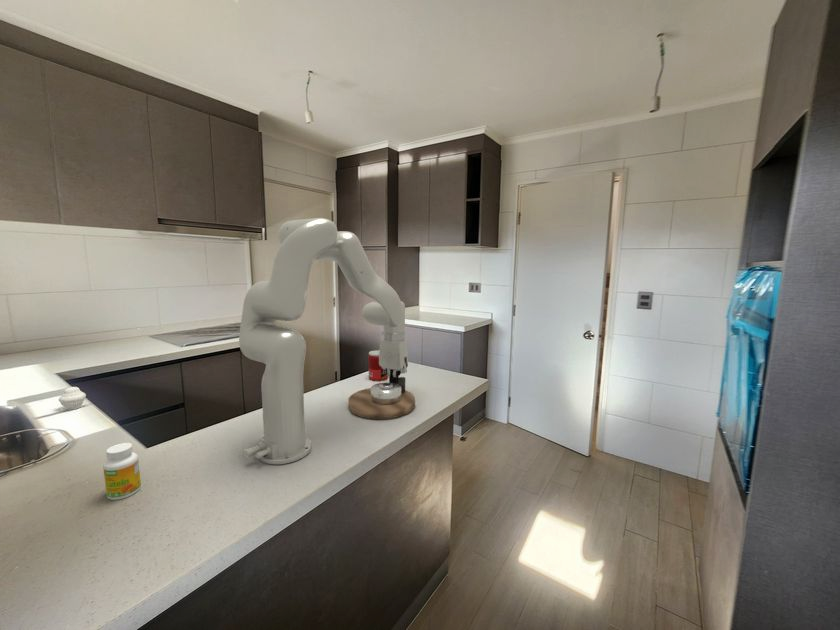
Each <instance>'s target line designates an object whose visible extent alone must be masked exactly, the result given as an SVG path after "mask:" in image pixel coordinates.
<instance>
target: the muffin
mask: <svg viewBox="0 0 840 630" xmlns="http://www.w3.org/2000/svg"><path fill="white" fill-rule="evenodd" d="M86 397H87V394H86V393H85V392H83V391H81V390H80V388H79V387H77V386H70V387H67V388H65V389H64V391H63V393H62V395H60V396H59V398H58V402H59V403H60V405H62V407H64V409H66V410H68V411H69V410H70V411H71V410H77V409H79V408H81V407H82V405H83V403H84V401H85V400H86Z"/></svg>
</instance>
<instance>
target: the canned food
mask: <svg viewBox="0 0 840 630" xmlns="http://www.w3.org/2000/svg"><path fill="white" fill-rule="evenodd" d="M379 351H380V349H379V350H369V352H368V378H369V380H370V381H373V382H384V381H386V380H387V379H388V378H389V376H388V373H387V371H386V370H384V369H383V368H382V367H381V366H380V365H379Z"/></svg>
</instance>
